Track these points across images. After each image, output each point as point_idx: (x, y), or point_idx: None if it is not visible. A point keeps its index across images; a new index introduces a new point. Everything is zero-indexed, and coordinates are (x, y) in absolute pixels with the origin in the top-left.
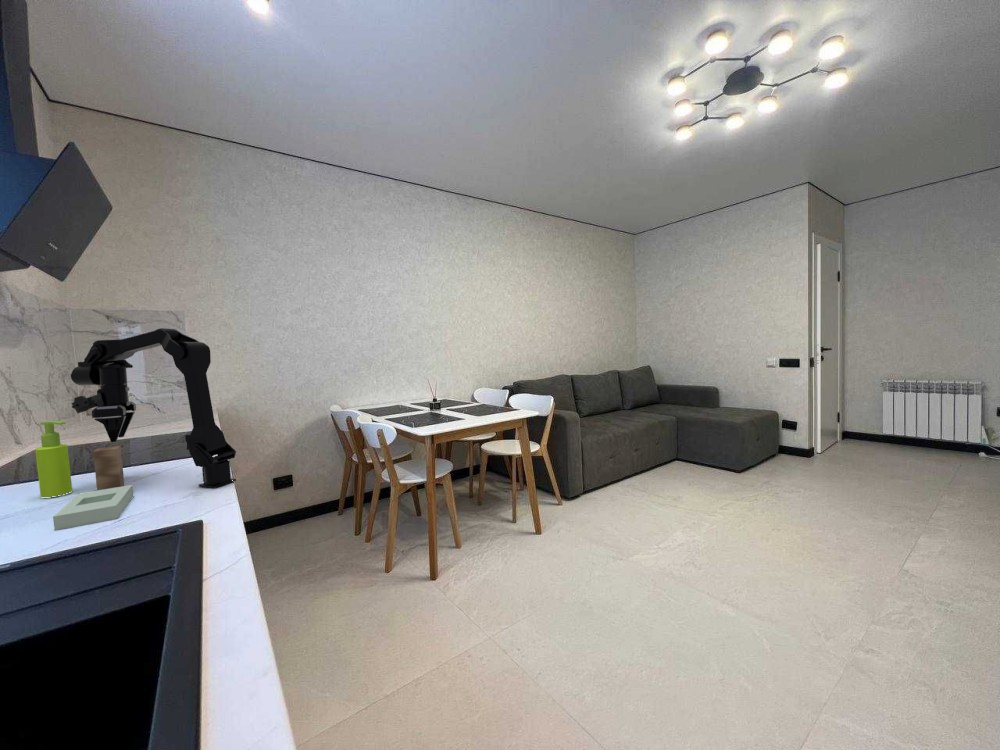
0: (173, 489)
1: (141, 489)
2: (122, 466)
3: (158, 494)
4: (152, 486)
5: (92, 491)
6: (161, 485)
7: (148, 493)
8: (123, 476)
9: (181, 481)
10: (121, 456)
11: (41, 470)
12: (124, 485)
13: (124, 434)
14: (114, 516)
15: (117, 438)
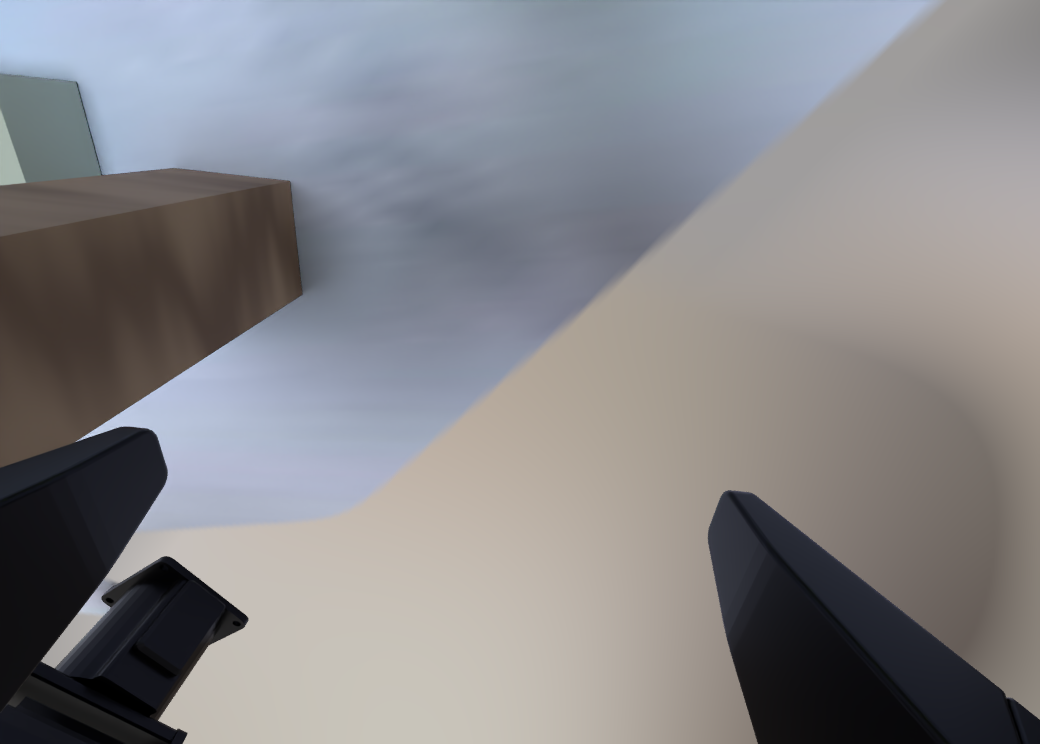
0: (186, 480)
1: (282, 367)
2: (188, 363)
3: None
4: (317, 410)
5: (10, 158)
6: (309, 444)
7: (169, 394)
8: (243, 329)
9: (334, 514)
10: (112, 411)
11: None
12: (280, 306)
13: (720, 580)
14: None
15: (122, 526)
